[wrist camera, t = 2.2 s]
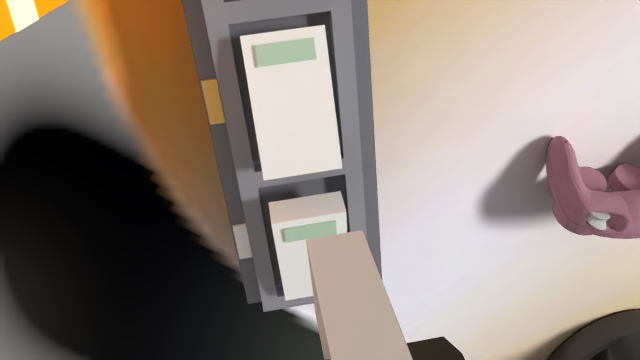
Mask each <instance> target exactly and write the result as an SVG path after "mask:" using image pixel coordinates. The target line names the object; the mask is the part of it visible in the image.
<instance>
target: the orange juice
mask: <svg viewBox="0 0 640 360" xmlns="http://www.w3.org/2000/svg"><path fill="white" fill-rule="evenodd" d="M66 1H68V0H0V40H2V39H3V38H5V37H7V36H8V35H10V34H12V33H13V32H18V31H20V30H22V29H23V28H25V27H27V26H28V25H30V24H32V23H34V22H35V21H37V20H38V19H39V17H41V16H42V15H44V14H46V13H48V12H49V11H51V10H53V9H54V8H56V7H58V6H60V5H61V4H63V3H65V2H66Z"/></svg>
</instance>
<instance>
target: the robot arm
mask: <svg viewBox="0 0 640 360" xmlns="http://www.w3.org/2000/svg"><path fill="white" fill-rule="evenodd" d="M306 245H307V252H308V259H309V267H310V274H311V282H312V289H313V296H314V304H315V311H316V318H317V323H318V328H319V333H320V338H321V343H322V348H323V353H324V358H325V360H465V359H464V357H463V355H462V353H461V352H460V351H459V350H458V349H457V348H455V347H454V346H453V345H452V344H451V343H450V342H449V341H448V340H447V339H445V338H444V337H438V338H433V339H427V340H422V341H417V342H411V343H406V341H405V339H404V336H403V333H402V331H401V328H400V326H399V323H398V321H397V318H396V315H395V313H394V310H393V308H392V305H391V303H390V300H389V297H388V295H387V292H386V290H385V287H384V285H383V282H382V279H381V277H380V274H379V272H378V269H377V267H376V264H375V261H374V259H373V256H372V254H371V251H370V249H369V246H368V243H367V241H366V238H365V236H364V233H363V231H362V230H360V231H354V232H348V233H342V234H336V235H330V236H324V237H318V238H311V239H306ZM549 360H640V310H632V311H626V312H621V313H618V314H614V315H611V316H608V317H606V318H603V319H601V320H599V321H596V322H594V323H592V324H590V325H589V326H587V327H585V328H583V329H582V330H580V331H579V332H577V333H576V334H574V335H573V336H572V337H570V338H569V339H568V340H567V341H565V342H564V343H563V344H562V345H561V346H560V347H559V348H558V349H557V350H556V351H555V352H554V353H553V355H552V356H551V357H550V358H549Z"/></svg>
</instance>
